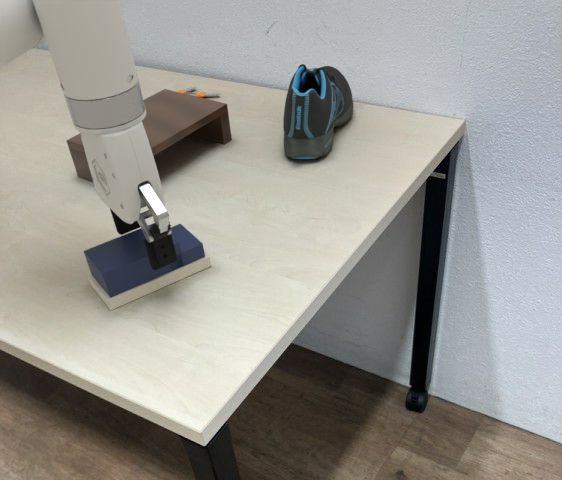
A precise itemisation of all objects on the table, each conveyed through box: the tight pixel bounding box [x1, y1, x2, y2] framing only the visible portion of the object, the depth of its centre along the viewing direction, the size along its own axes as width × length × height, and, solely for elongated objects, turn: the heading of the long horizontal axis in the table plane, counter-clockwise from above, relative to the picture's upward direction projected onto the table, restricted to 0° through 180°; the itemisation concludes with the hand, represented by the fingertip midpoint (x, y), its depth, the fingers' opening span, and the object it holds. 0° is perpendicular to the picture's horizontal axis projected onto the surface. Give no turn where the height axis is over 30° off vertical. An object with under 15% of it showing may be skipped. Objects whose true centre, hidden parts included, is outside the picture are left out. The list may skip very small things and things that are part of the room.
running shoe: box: [282, 63, 354, 160], centre depth 100 cm, size 10×26×11 cm, turn 170°
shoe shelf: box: [66, 88, 232, 183], centre depth 98 cm, size 22×14×6 cm, turn 144°
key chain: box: [175, 86, 221, 98], centre depth 116 cm, size 13×7×1 cm, turn 118°
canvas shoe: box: [83, 222, 212, 311], centre depth 75 cm, size 14×6×5 cm, turn 124°
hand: (146, 246), depth 74 cm, fingers open, 9 cm apart
